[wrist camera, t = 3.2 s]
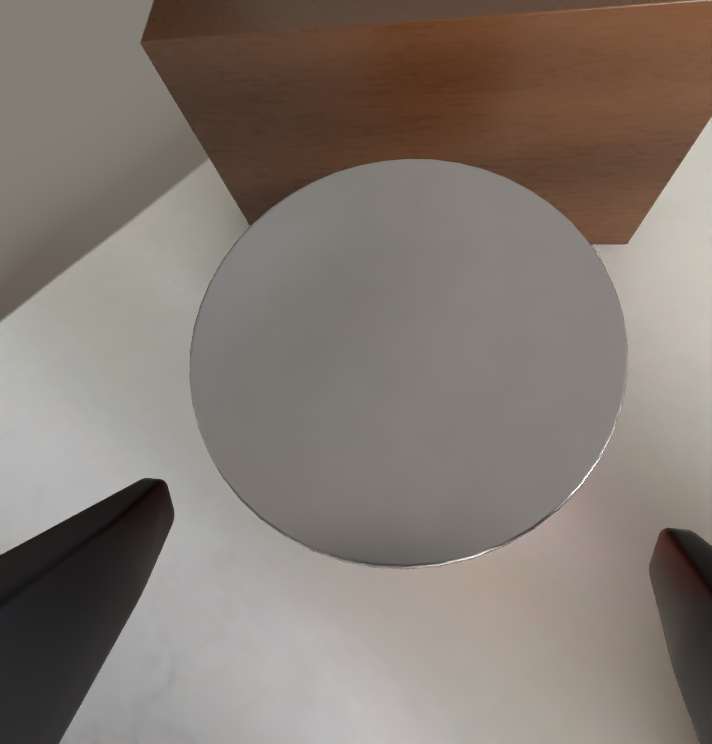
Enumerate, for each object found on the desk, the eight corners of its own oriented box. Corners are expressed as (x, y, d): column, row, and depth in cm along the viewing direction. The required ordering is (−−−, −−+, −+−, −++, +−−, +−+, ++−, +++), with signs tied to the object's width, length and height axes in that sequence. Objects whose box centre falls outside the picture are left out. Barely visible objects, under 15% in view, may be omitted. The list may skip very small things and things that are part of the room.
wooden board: (627, 244, 20) (795, -8, 11) (260, 243, 23) (139, 42, 14) (623, 195, 21) (778, -81, 11) (268, 200, 24) (158, -19, 14)
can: (508, 556, 17) (647, 601, 6) (323, 535, 18) (145, 539, 7) (509, 375, 19) (615, 151, 8) (342, 367, 20) (228, 162, 9)
